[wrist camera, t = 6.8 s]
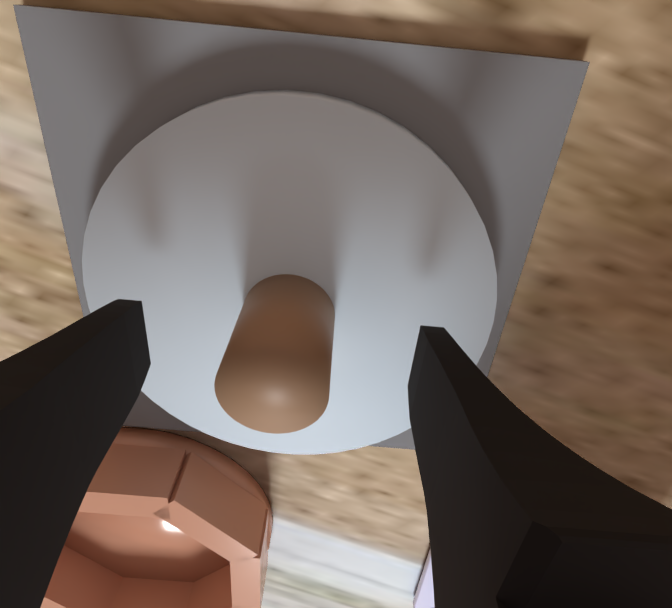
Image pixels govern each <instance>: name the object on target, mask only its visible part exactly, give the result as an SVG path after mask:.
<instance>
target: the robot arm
mask: <svg viewBox="0 0 672 608" xmlns="http://www.w3.org/2000/svg"><path fill="white" fill-rule="evenodd" d="M150 365H151V360H150V354H149V347H148V340H147V333H146V326H145V320H144V313H143V306H142V301H137V300H126V299H117V300H114V301H112V302H110V303H108V304H106V305H105V306H103V307H101V308H99V309H97V310H96V311H94V312H92V313H90V314H89V315H87V316H85V317H83V318H82V319H80V320H78V321H76V322H75V323H73V324H71V325H69V326H67V327H66V328H64V329H62V330H60V331H59V332H57V333H55V334H53V335H52V336H50V337H48V338H46V339H44V340H42V341H40V342H38V343H36V344H34V345H32V346H30V347H29V348H27V349H25V350H23V351H21V352H19V353H17V354H15V355H13V356H11V357H9V358H7V359H5V360H3V361H1V362H0V608H40V607H41V605H42V602H43V599H44V597H45V594H46V591H47V588H48V586H49V583H50V580H51V578H52V575H53V572H54V570H55V567H56V564H57V562H58V559H59V557H60V554H61V552H62V549H63V547H64V544H65V542H66V539H67V537H68V534H69V532H70V529H71V527H72V524H73V522H74V520H75V517H76V515H77V513H78V510H79V508H80V506H81V503H82V501H83V499H84V496H85V494H86V492H87V490H88V487H89V485H90V483H91V481H92V479H93V477H94V475H95V473H96V471H97V469H98V468H99V466H100V464H101V462H102V461H103V459H104V457H105V455H106V454H107V452H108V450H109V448H110V447H111V445H112V443H113V441H114V439H115V438H116V436H117V434H118V432H119V431H120V429H121V427H122V425H123V424H124V422H125V420H126V418H127V417H128V415H129V413H130V411H131V409H132V408H133V406H134V404H135V402H136V400H137V398H138V396H139V394H140V391H141V389H142V387H143V384H144V382H145V379H146V376H147V373H148V371H149V368H150ZM408 404H409V418H410V424H411V430H412V435H413V440H414V445H415V450H416V455H417V460H418V465H419V470H420V475H421V480H422V485H423V490H424V496H425V502H426V509H427V517H428V528H429V539H430V550H429V553H428V557H427V560H426V563H425V566H424V569H423V572H422V575H421V578H420V581H419V585H418V588H417V591H416V594H415V597H414V600H413V607H414V608H672V509H670V508H668V507H666V506H664V505H662V504H660V503H658V502H656V501H655V500H653V499H651V498H649V497H647V496H645V495H643V494H641V493H639V492H638V491H636V490H634V489H632V488H630V487H628V486H627V485H625V484H623V483H622V482H620V481H618V480H617V479H615V478H613V477H612V476H610V475H608V474H607V473H605V472H603V471H602V470H600V469H599V468H597V467H595V466H594V465H592V464H591V463H589V462H588V461H586V460H585V459H583V458H582V457H580V456H579V455H577V454H576V453H575V452H573V451H572V450H570V449H569V448H568V447H566V446H565V445H563V444H562V443H561V442H559V441H558V440H556V439H555V438H554V437H552V436H551V435H550V434H548V433H547V432H546V431H545V430H543V429H542V428H541V427H540V426H538V425H537V424H536V423H535V422H534V421H533V420H531V419H530V418H529V417H528V416H527V415H525V414H524V413H523V412H522V411H521V410H520V409H518V408H517V407H516V406H515V405H514V404H513V403H512V402H511V401H510V400H509V399H508V398H507V397H506V396H505V395H504V394H503V393H502V392H501V391H500V390H499V389H498V388H497V387H496V386H495V385H494V384H493V383H492V382H491V381H490V380H489V379H488V378H487V377H486V376H485V375H484V374H483V373H482V371H481V370H480V369H479V368H478V367H477V366H476V365H475V364H474V362H473V361H472V360H471V359H470V358H469V357H468V355H467V354H466V353H465V352H464V351H463V350H462V348H461V347H460V346H459V345H458V344H457V342H456V341H455V340H454V339H453V337H452V336H451V335H450V334H449V333H448V331H447V330H446V329H445V328H444V327H435V326H424V325H420V330H419V334H418V339H417V344H416V348H415V353H414V358H413V362H412V367H411V372H410V376H409V381H408Z"/></svg>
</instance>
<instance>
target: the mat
mask: <svg viewBox="0 0 672 608" xmlns="http://www.w3.org/2000/svg"><path fill="white" fill-rule="evenodd" d="M13 6H14V10H15V15H16V19H17V24H18V28H19V33H20V37H21V41H22V46H23V50H24V55H25V59H26V64H27V68H28V72H29V77H30V81H31V86H32V90H33V95H34V99H35V103H36V108H37V112H38V117H39V121H40V126H41V130H42V134H43V139H44V143H45V148H46V152H47V157H48V161H49V166H50V170H51V174H52V179H53V183H54V188H55V192H56V197H57V201H58V205H59V210H60V214H61V219H62V223H63V228H64V232H65V236H66V241H67V245H68V250H69V254H70V259H71V263H72V267H73V272H74V276H75V281H76V285H77V290H78V294H79V298H80V303H81V307H82V312H83V316H84V317H85V316H87V315H89V314H90V310H89V307H88V303H87V298H86V294H85V289H84V284H83V271H82V253H83V242H84V234H85V230H86V227H87V223H88V219H89V215H90V211H91V209H92V207H93V205H94V203H95V200H96V198H97V196H98V194H99V191H100V189H101V187H102V186H103V184H104V183H105V181H106V180H107V178H108V177H109V176H110V174H111V173H112V171H113V170H114V168H115V167H116V165H117V164H118V163H119V162H120V161H121V160H122V159H123V158H124V157H125V156H126V155H127V154H128V153H129V152H130V151H131V150H132V148H133V147H134V146H135V145H137V144H138V143H139V142H141V141H142V140H143V139H145V138H146V137H147V136H149V135H150V134H151V133H153V132H154V131H155V130H157V129H158V128H159V127H161V126H163V125H164V124H166V123H168V122H169V121H171V120H173V119H175V118H176V117H178V116H180V115H182V114H184V113H186V112H188V111H190V110H191V109H193V108H195V107H197V106H200V105H203V104H206V103H209V102H211V101H214V100H217V99H220V98H223V97H226V96H231V95H237V94H242V93H247V92H253V91H267V90H295V91H305V92H315V93H321V94H325V95H329V96H333V97H337V98H342V99H346V100H350V101H352V102H355V103H357V104H360V105H362V106H365V107H367V108H370V109H372V110H375V111H377V112H379V113H381V114H383V115H385V116H386V117H388V118H390V119H392V120H393V121H395V122H397V123H399V124H400V125H402V126H404V127H406V128H407V129H408V130H409V131H411V132H412V133H413V134H415V135H416V136H417V137H418V138H420V139H421V140H422V141H424V142H425V143H426V144H427V145H429V146H430V147H431V148H432V149H433V150H434V151H435V153H436V154H437V155H438V156H439V157H440V158H441V159H442V160H443V161H444V162H445V163H446V164H447V165H448V166H449V167H450V169H451V170H452V171H453V173H454V174H455V176H456V177H457V178H458V180H459V181H460V183H461V184H462V185H463V187H464V188H465V190H466V192H467V193H468V195H469V197H470V198H471V200H472V202H473V204H474V206H475V208H476V210H477V212H478V214H479V216H480V217H481V219H482V221H483V223H484V225H485V228H486V231H487V234H488V237H489V240H490V243H491V247H492V250H493V254H494V261H495V267H496V273H497V303H496V310H495V316H494V323H493V326H492V329H491V332H490V335H489V339H488V342H487V345H486V347H485V349H484V351H483V353H482V355H481V357H480V359H479V361H478V363H477V365H476V366H477V367H478V368H479V369H480V370H481V371H482V373H483V374H484V375H485V376H486V377H487V376H488V373H489V370H490V367H491V364H492V361H493V358H494V355H495V352H496V349H497V346H498V343H499V339H500V336H501V333H502V330H503V327H504V324H505V321H506V318H507V315H508V312H509V309H510V306H511V303H512V299H513V296H514V293H515V290H516V287H517V284H518V281H519V278H520V275H521V272H522V269H523V266H524V263H525V259H526V256H527V253H528V250H529V247H530V244H531V241H532V238H533V235H534V232H535V229H536V226H537V223H538V219H539V216H540V213H541V210H542V207H543V204H544V201H545V198H546V195H547V192H548V189H549V186H550V183H551V179H552V176H553V173H554V170H555V167H556V164H557V161H558V158H559V155H560V152H561V149H562V146H563V143H564V139H565V136H566V133H567V130H568V127H569V124H570V121H571V118H572V115H573V112H574V109H575V106H576V103H577V99H578V96H579V93H580V90H581V87H582V84H583V81H584V78H585V75H586V72H587V69H588V66H589V63H590V62H586V61H581V60H571V59H561V58H551V57H541V56H531V55H521V54H511V53H501V52H491V51H481V50H471V49H461V48H451V47H441V46H431V45H421V44H411V43H401V42H390V41H380V40H370V39H360V38H350V37H340V36H330V35H320V34H310V33H300V32H290V31H280V30H270V29H260V28H250V27H240V26H230V25H220V24H210V23H200V22H190V21H180V20H170V19H160V18H150V17H140V16H130V15H120V14H110V13H100V12H90V11H80V10H70V9H60V8H50V7H40V6H30V5H13ZM122 426H133V427H145V428H157V429H169V430H182V431H194V432H202V431H200V430H198V429H195V428H193V427H191V426H189V425H187V424H186V423H184V422H183V421H181V420H179V419H178V418H176V417H174V416H173V415H171V414H169V413H168V412H167V411H165V410H164V409H163V408H161V407H160V406H159V405H157V404H156V403H155V402H153V401H152V400H151V399H150V398H149V397H148V396H146V395H145V394H144V393H143V392H142V391H140V394H139V396H138V398H137V400H136V402H135V404H134V406H133V408H132V409H131V411H130V413H129V415H128V417H127V418H126V420H125V422H124V424H123V425H122ZM368 446H378V447H390V448H402V449H414V450H415V445H414V440H413V435H412V430H411V428H410V429H408V430H406V431H404V432H402V433H400V434H398V435H396V436H393V437H391V438H389V439H386V440H384V441H381V442H379V443H375V444H372V445H368Z"/></svg>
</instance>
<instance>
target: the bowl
mask: <svg viewBox="0 0 672 608" xmlns="http://www.w3.org/2000/svg"><path fill="white" fill-rule="evenodd" d="M272 524H273V519H272V511H271V507H270V504H269V501H268V499H267V497H266V495H265V493H264V491H263V490H262V488H261V487H260V486H259V484H258V483H257V482H256V481H255V479H254V478H253V477H252V476H251V475H250V474H249V473H248V472H247V471H246V470H244V469H243V468H242V467H241V466H240V465H238V464H237V463H236V462H234V461H233V460H231V459H230V458H228V457H227V456H225V455H224V454H222V453H220V452H218V451H216V450H214V449H212V448H211V447H209V446H206V445H204V444H202V443H199V442H197V441H194V440H192V439H188V438H185V437H182V436H179V435H176V434H171V433H167V432H162V431H158V430H150V429H142V428H122V427H121V429H120V431H119V432H118V434H117V436H116V438H115V439H114V441H113V443H112V445H111V447H110V448H109V450H108V452H107V454H106V455H105V457H104V459H103V461H102V462H101V464H100V466H99V468H98V469H97V471H96V473H95V475H94V477H93V479H92V481H91V483H90V485H89V487H88V490H87V492H86V494H85V496H84V499H83V501H82V503H81V506H80V508H79V510H78V513H77V515H76V517H75V520H74V522H73V524H72V527H71V529H70V532H69V534H68V537H67V539H66V542H65V544H64V547H63V549H62V552H61V554H60V557H59V559H58V562H57V564H56V567H55V570H54V572H53V575H52V578H51V580H50V583H49V586H48V588H47V591H46V594H45V597H44V599H43V602H42V605H41V607H40V608H261V604H262V597H263V591H264V584H265V577H266V571H267V564H268V549H269V544H270V538H271V531H272Z"/></svg>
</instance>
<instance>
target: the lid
mask: <svg viewBox="0 0 672 608" xmlns="http://www.w3.org/2000/svg"><path fill="white" fill-rule="evenodd" d="M82 271H83V284H84V289H85V294H86V298H87V303H88V307H89V310H90V313H92V312H94V311H96V310H97V309H99V308H101V307H103V306H105V305H106V304H108V303H110V302H112V301H114V300H117V299H126V300H137V301H142V306H143V313H144V320H145V326H146V333H147V340H148V347H149V354H150V360H151V365H150V368H149V371H148V373H147V376H146V379H145V382H144V384H143V387H142V389H141V391H142V392H143V393H144V394H145V395H146V396H148V397H149V398H150V399H151V400H152V401H153V402H155V403H156V404H157V405H159V406H160V407H161V408H163V409H164V410H165V411H167V412H168V413H169V414H171V415H173V416H174V417H176V418H178V419H179V420H181V421H183V422H184V423H186V424H187V425H189V426H191V427H193V428H195V429H198V430H200V431H202V432H204V433H206V434H208V435H210V436H213V437H216V438H218V439H221V440H224V441H226V442H229V443H233V444H236V445H240V446H243V447H247V448H251V449H256V450H262V451H267V452H273V453H284V454H325V453H336V452H342V451H347V450H353V449H358V448H361V447H365V446H368V445H372V444H375V443H379V442H381V441H384V440H386V439H389V438H391V437H393V436H396V435H398V434H400V433H402V432H404V431H406V430H408V429H410V428H411V424H410V418H409V404H408V381H409V376H410V372H411V367H412V362H413V358H414V353H415V348H416V344H417V339H418V334H419V330H420V325H424V326H435V327H444V328H445V329H446V330H447V331H448V333H449V334H450V335H451V336H452V337H453V339H454V340H455V341H456V342H457V344H458V345H459V346H460V347H461V348H462V350H463V351H464V352H465V353H466V354H467V355H468V357H469V358H470V359H471V360H472V361H473V362H474V364H475V365H477V363H478V361H479V359H480V357H481V355H482V353H483V351H484V349H485V347H486V345H487V342H488V339H489V335H490V332H491V329H492V326H493V323H494V316H495V310H496V303H497V273H496V267H495V261H494V254H493V250H492V247H491V243H490V240H489V237H488V234H487V231H486V228H485V225H484V223H483V221H482V219H481V217H480V216H479V214H478V212H477V210H476V208H475V206H474V204H473V202H472V200H471V198H470V197H469V195H468V193H467V192H466V190H465V188H464V187H463V185H462V184H461V183H460V181H459V180H458V178H457V177H456V176H455V174H454V173H453V171H452V170H451V169H450V167H449V166H448V165H447V164H446V163H445V162H444V161H443V160H442V159H441V158H440V157H439V156H438V155H437V154H436V153H435V151H434V150H433V149H432V148H431V147H430V146H429V145H427V144H426V143H425V142H424V141H422V140H421V139H420V138H418V137H417V136H416V135H415V134H413V133H412V132H411V131H409V130H408V129H407V128H406V127H404V126H402V125H400V124H399V123H397V122H395V121H393V120H392V119H390V118H388V117H386V116H385V115H383V114H381V113H379V112H377V111H375V110H372V109H370V108H367V107H365V106H362V105H360V104H357V103H355V102H352V101H350V100H346V99H342V98H337V97H333V96H329V95H325V94H321V93H315V92H305V91H295V90H267V91H253V92H247V93H242V94H237V95H231V96H226V97H223V98H220V99H217V100H214V101H211V102H209V103H206V104H203V105H200V106H197V107H195V108H193V109H191V110H190V111H188V112H186V113H184V114H182V115H180V116H178V117H176V118H175V119H173V120H171V121H169V122H168V123H166V124H164V125H163V126H161V127H159V128H158V129H157V130H155V131H154V132H153V133H151V134H150V135H149V136H147V137H146V138H145V139H143V140H142V141H141V142H139V143H138V144H137V145H135V146H134V147H133V148H132V150H131V151H130V152H129V153H128V154H127V155H126V156H125V157H124V158H123V159H122V160H121V161H120V162H119V163H118V164H117V165H116V167H115V168H114V170H113V171H112V173H111V174H110V176H109V177H108V178H107V180H106V181H105V183H104V184H103V186H102V187H101V189H100V191H99V194H98V196H97V198H96V200H95V203H94V205H93V207H92V209H91V211H90V215H89V219H88V223H87V227H86V230H85V234H84V242H83V253H82Z"/></svg>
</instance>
